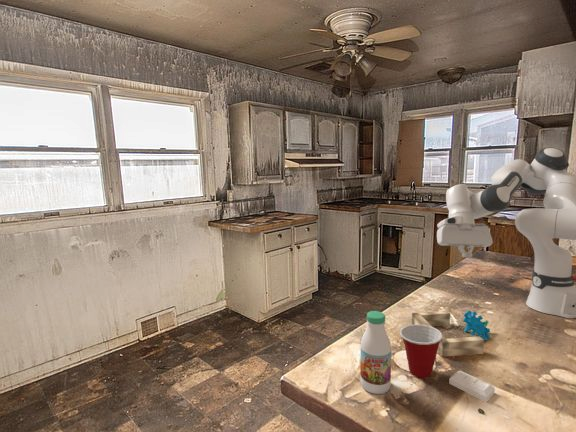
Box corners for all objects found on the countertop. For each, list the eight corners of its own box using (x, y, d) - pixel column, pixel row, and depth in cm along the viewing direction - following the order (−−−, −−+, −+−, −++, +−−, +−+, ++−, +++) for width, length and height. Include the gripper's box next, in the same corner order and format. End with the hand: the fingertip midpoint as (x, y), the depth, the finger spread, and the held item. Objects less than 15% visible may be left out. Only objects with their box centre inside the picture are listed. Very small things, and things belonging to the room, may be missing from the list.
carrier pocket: (446, 322, 118) (447, 310, 117) (483, 353, 98) (484, 339, 98) (411, 324, 117) (412, 313, 117) (441, 356, 97) (442, 342, 97)
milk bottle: (356, 377, 89) (356, 308, 86) (383, 374, 90) (384, 306, 87) (365, 396, 82) (366, 322, 79) (395, 393, 82) (396, 320, 79)
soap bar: (457, 377, 89) (458, 368, 88) (494, 394, 82) (495, 385, 81) (449, 384, 86) (449, 375, 85) (485, 403, 79) (486, 393, 78)
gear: (477, 341, 102) (460, 310, 108) (463, 347, 106) (448, 317, 112) (499, 337, 107) (482, 308, 113) (485, 343, 111) (469, 315, 117)
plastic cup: (402, 356, 98) (402, 319, 96) (441, 366, 93) (443, 327, 91) (395, 377, 89) (396, 337, 87) (439, 389, 84) (441, 346, 82)
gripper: (483, 226, 132) (489, 259, 127) (433, 224, 131) (437, 258, 127) (492, 221, 126) (499, 256, 121) (440, 219, 125) (445, 254, 121)
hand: (467, 257), depth 124 cm, fingers closed
